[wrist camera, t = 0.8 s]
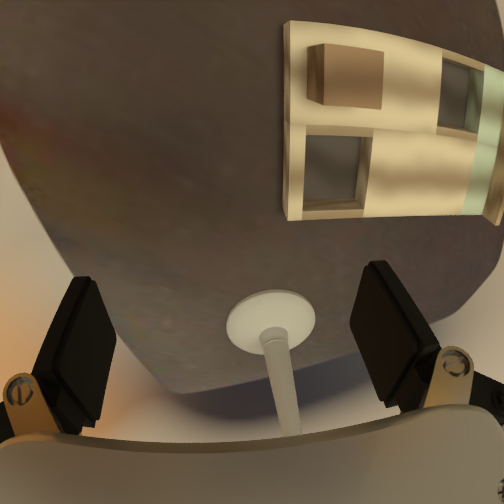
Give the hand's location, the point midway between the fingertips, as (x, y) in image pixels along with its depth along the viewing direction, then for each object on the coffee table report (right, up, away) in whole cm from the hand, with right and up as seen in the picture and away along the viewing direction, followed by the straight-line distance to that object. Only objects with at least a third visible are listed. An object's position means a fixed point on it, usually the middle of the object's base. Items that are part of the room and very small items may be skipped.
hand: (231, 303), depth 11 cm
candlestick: (+3, -8, +34) cm, 36 cm away
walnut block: (+8, +18, +14) cm, 24 cm away
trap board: (+18, +16, +20) cm, 31 cm away
